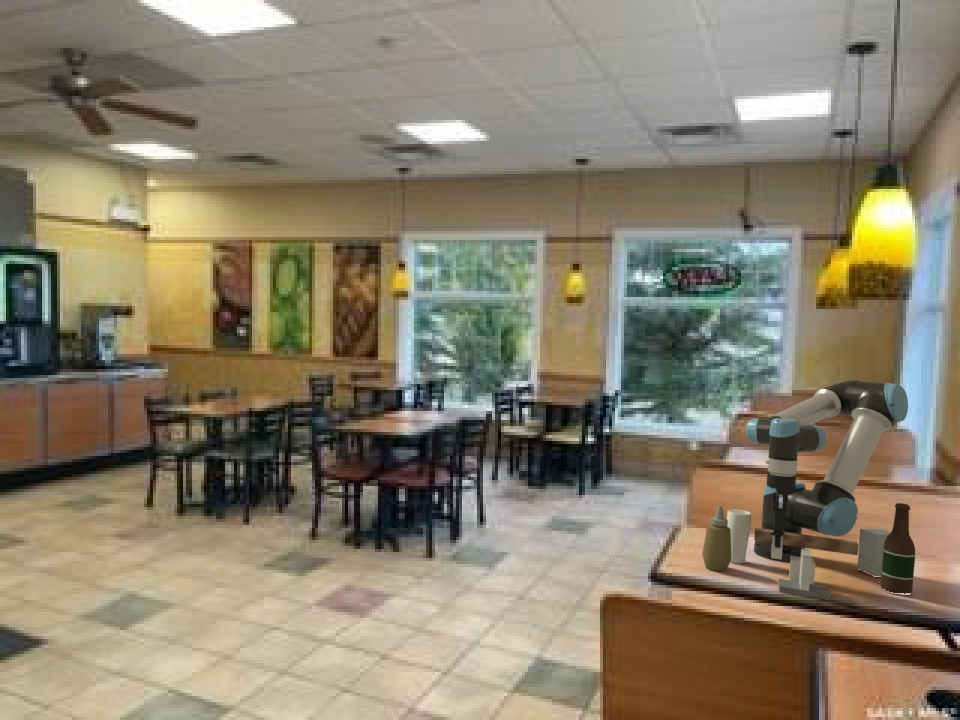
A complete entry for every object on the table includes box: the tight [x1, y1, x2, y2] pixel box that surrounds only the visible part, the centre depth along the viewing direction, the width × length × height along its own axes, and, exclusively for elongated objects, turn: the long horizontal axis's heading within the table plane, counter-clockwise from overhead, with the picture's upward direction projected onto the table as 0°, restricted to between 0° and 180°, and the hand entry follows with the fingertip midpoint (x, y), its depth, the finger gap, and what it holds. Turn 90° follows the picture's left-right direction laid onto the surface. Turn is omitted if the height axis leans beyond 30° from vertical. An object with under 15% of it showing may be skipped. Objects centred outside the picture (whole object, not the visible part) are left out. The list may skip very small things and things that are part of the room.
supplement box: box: [856, 528, 892, 576], centre depth 210 cm, size 7×7×13 cm
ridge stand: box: [778, 548, 831, 601], centre depth 189 cm, size 12×7×11 cm, turn 69°
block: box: [788, 556, 816, 584], centre depth 198 cm, size 6×5×6 cm
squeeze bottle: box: [701, 505, 731, 572], centre depth 205 cm, size 8×8×18 cm
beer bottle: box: [880, 502, 916, 594], centre depth 194 cm, size 8×8×24 cm
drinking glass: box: [726, 508, 752, 565], centre depth 213 cm, size 7×7×15 cm
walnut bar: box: [753, 527, 859, 556], centre depth 198 cm, size 26×3×3 cm, turn 69°
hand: (776, 556), depth 201 cm, fingers closed on walnut bar, 3 cm apart
